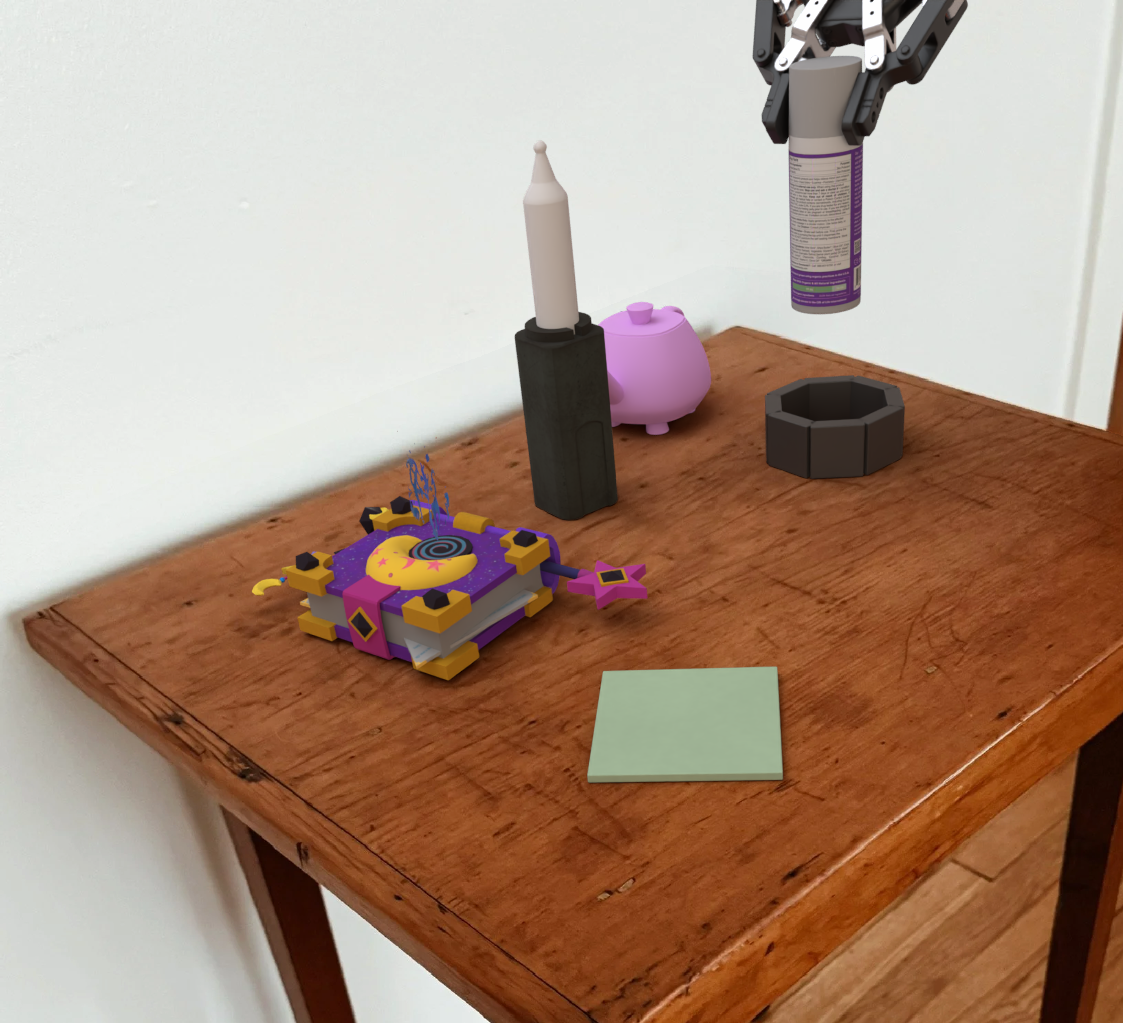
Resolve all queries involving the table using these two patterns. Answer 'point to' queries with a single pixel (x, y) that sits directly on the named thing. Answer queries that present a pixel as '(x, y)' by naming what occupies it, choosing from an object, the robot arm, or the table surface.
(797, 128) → the container
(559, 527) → the table surface
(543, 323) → the candle
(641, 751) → the mat
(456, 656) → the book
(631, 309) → the teapot
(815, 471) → the ring
